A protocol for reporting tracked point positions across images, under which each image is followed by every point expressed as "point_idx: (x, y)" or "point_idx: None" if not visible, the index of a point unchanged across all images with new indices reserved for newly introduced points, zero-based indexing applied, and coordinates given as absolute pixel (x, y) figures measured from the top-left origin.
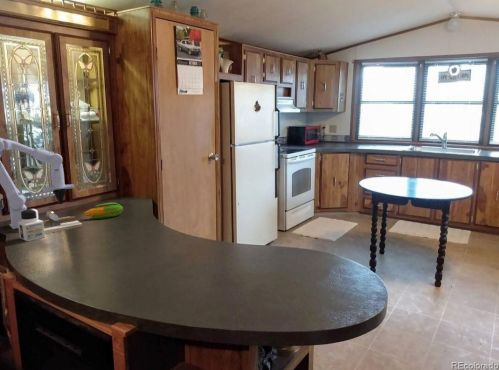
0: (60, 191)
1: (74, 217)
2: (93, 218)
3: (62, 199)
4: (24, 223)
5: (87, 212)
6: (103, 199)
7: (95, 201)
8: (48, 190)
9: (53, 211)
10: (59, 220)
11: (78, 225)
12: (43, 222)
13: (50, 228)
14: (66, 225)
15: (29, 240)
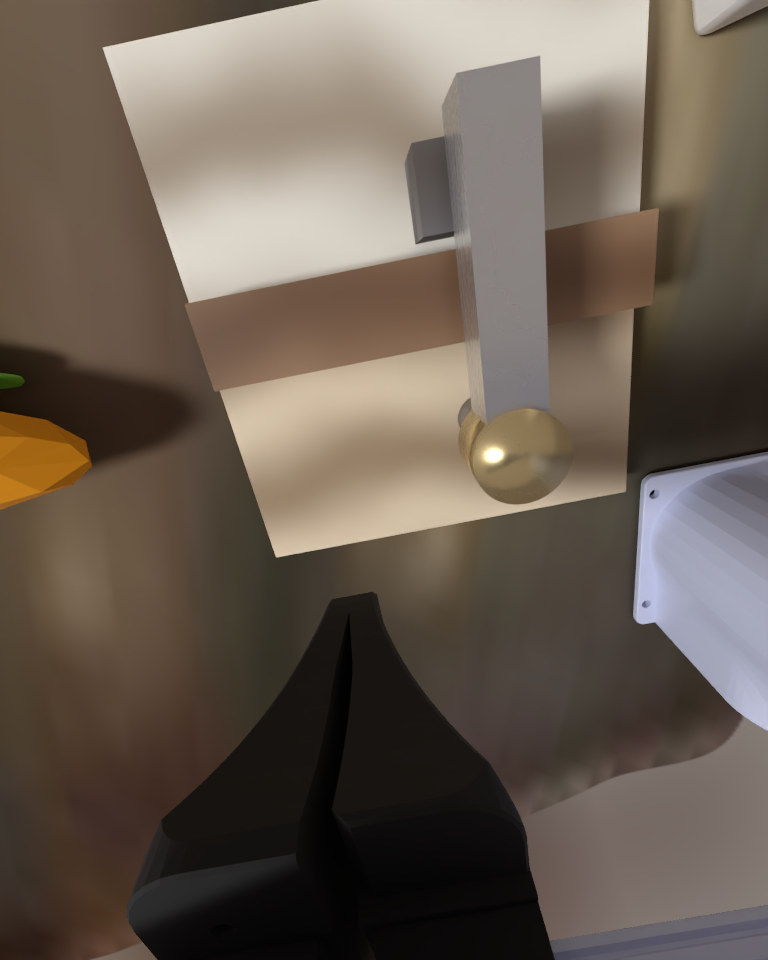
0: (326, 873)
1: (203, 300)
2: (10, 387)
3: (315, 651)
4: None
5: (23, 434)
6: (42, 953)
7: (98, 929)
8: (747, 957)
9: (476, 456)
10: (417, 175)
11: (166, 47)
12: (620, 233)
13: (550, 33)
14: (330, 81)
15: None
